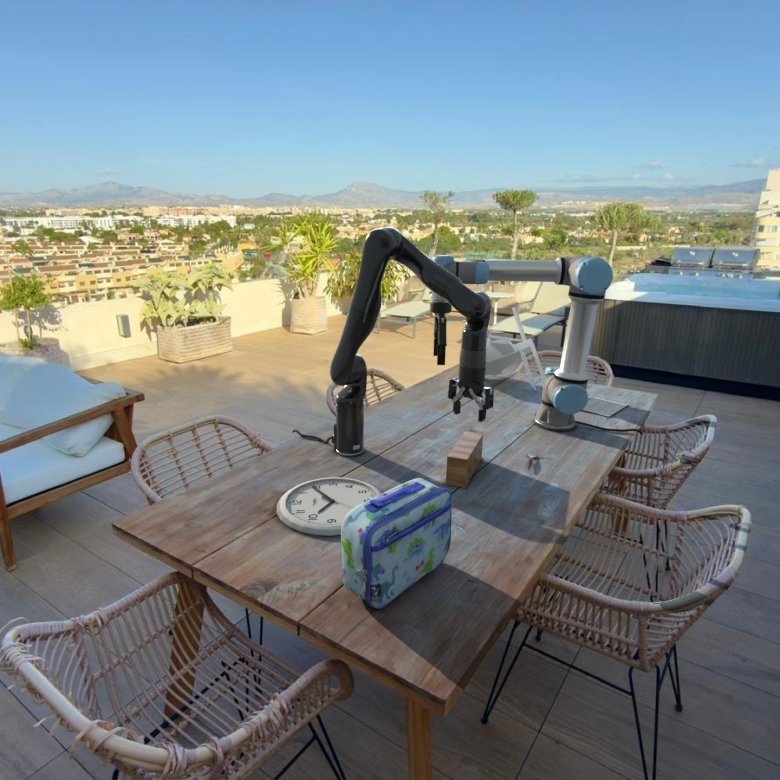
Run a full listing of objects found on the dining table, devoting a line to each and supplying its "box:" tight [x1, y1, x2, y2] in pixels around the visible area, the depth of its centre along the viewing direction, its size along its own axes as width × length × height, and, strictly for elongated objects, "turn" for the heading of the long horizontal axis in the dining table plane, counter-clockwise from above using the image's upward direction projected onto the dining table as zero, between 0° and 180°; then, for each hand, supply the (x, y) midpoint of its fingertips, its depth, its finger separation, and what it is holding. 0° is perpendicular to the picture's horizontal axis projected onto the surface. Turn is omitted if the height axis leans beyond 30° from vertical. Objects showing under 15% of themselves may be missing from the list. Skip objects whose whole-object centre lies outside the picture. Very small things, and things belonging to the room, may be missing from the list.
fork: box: [527, 446, 538, 471], centre depth 171 cm, size 3×16×2 cm, turn 160°
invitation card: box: [582, 396, 629, 418], centre depth 226 cm, size 21×1×15 cm
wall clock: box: [276, 476, 383, 537], centre depth 142 cm, size 30×2×30 cm
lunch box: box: [340, 477, 452, 610], centre depth 110 cm, size 26×11×21 cm, turn 134°
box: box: [445, 430, 484, 489], centre depth 163 cm, size 22×6×9 cm, turn 158°
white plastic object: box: [485, 307, 545, 391], centre depth 258 cm, size 37×45×31 cm
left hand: (468, 417), depth 153 cm, fingers open, 8 cm apart
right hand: (438, 360), depth 188 cm, fingers open, 13 cm apart
